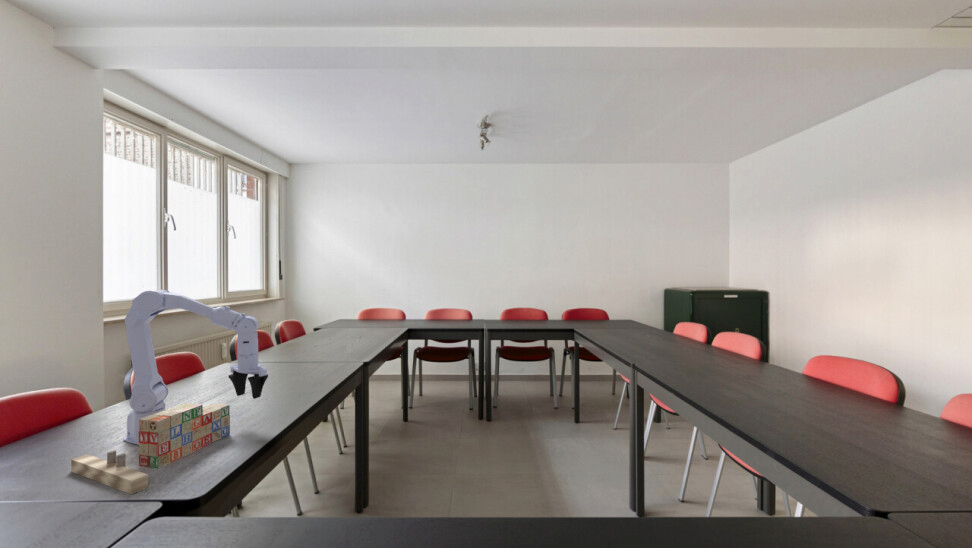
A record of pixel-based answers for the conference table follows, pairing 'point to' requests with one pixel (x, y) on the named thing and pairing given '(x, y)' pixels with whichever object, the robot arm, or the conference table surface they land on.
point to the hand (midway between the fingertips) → (248, 396)
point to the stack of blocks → (180, 432)
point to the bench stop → (110, 472)
